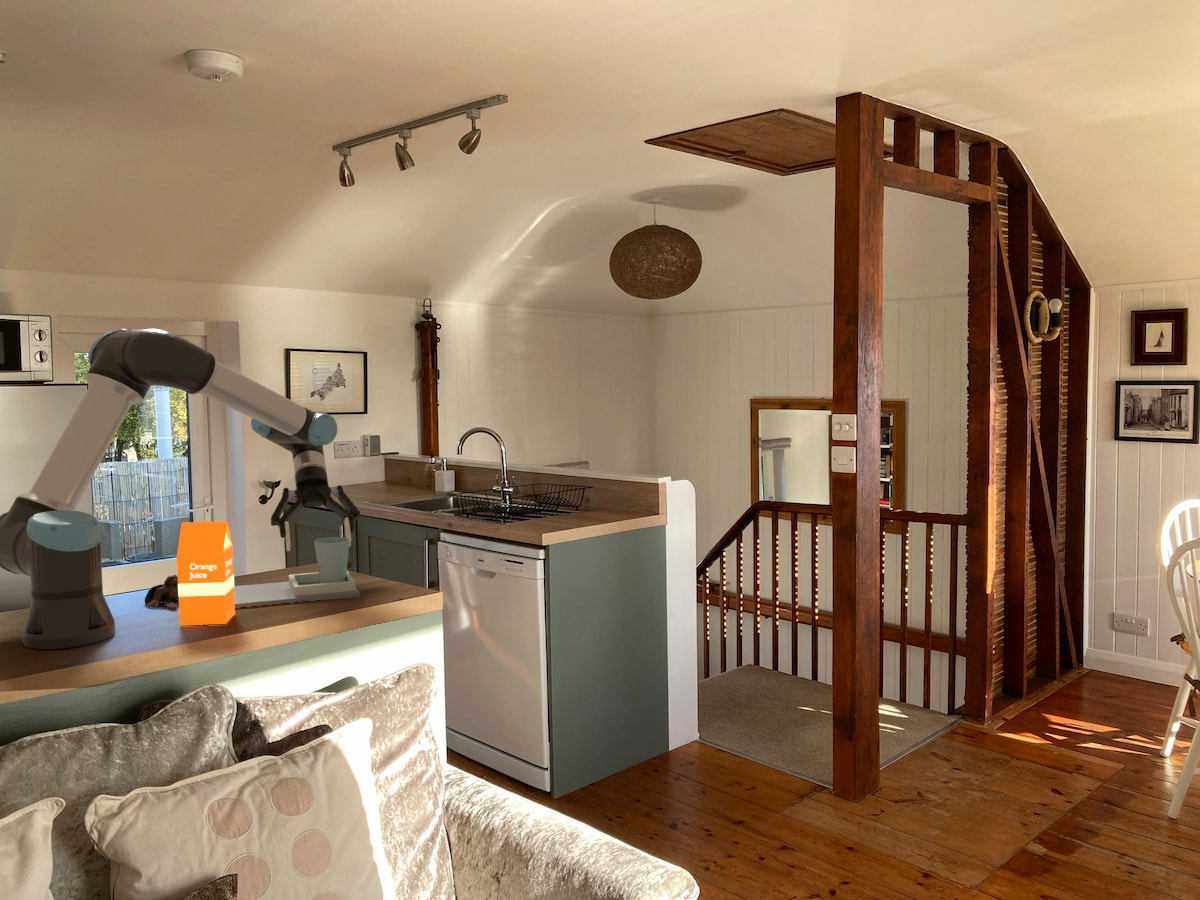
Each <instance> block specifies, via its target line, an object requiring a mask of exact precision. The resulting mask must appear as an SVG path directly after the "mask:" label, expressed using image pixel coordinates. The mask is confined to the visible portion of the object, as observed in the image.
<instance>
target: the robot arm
mask: <svg viewBox="0 0 1200 900" xmlns="http://www.w3.org/2000/svg"><path fill="white" fill-rule="evenodd" d="M87 357H88V358H87V359H88V362H89V369H88V371H87V373H86V375H85V380H86V382H87V384H88V388H87V390H86V391H85V393H84V395H83V397H82V399H81V400H80V402H79V404H78V406H77V407H76V409H75V411H74V413H73V414H72V417H71V419H69V421H68V423H67V425H66V427H65V429H64V431H63V433H61V434H62V435H61V436H60V437H59V440H58V441H57V443H56V445H55V446H54V448H53V450H52V452H51V453H50V456H49V458H47V461H46V463H45V465H44V466H43V468H42V470H41V471H40V473H39V475H38V477H37V479H36V480H35V482H34V484H33V486H32V487H31V490H29V491H28V492H26V493H22V494H19V495H17V496H16V498H15V499H14V502H13V503H12V505H11V506H10V508H9V509H8V510H9V511H7V512H4V513H2V514H0V568H1V569H2V570H3V571H4V570H5V571H6V572H10V573H11V574H16V575H23V576H27V577H30V591H31V604H30V606H29V610H28V613H27V617H26V620H25V621H24V622H25V623H24V626H23V629H22V645H23V646H24V647H26V648H30V649H35V650H57V649H59V650H60V649H70V648H71V649H72V648H77V647H81V646H87V645H92V644H95V643H99V642H101V641H102V642H103V641H104V640H107V639H109V638H111V637H113V636H114V635H115V634H116V621H115V619H114V616H113V614H112V612H111V611H112V610H111V609H110V607H109V605H108V602H107V600H106V598H105V596H104V589H103V587H104V586H103V569H102V568H103V565H102V545H101V543H102V542H101V541H102V533H101V532H102V531H101V529H100V523H99V520H98V519H97V517H95V515H93V514H90V513H88V512H86V511H85V512H84V511H79V510H76V508H77V506H78V504H79V502H80V501H81V499H82V497H83V495H84V493H85V491H86V489H87V487H88V486H89V484H90V482H91V481H92V478H93V476H94V475H95V473H96V472H97V470H98V467H99V466H100V464H101V462H102V460H103V458H104V456H105V455H106V452H107V451H108V449H109V447H110V445H111V443H112V442H113V440H114V438H115V436H116V435H117V433H118V430H119V429H120V427H121V426H122V424H123V421H124V419H125V418H126V415H127V414H128V413H129V410H130V408H131V406H135V405H137V404H141V403H143V401H144V399H145V397H146V395H147V394H148V393H149V390H150V388H151V387H153V386H154V387H155V386H157V387H159V386H160V387H167V388H172V389H177V390H179V391H183V392H185V393H186V394H189V395H197V394H201V395H202V396H205V397H207V398H209V399H211V400H214V401H215V402H218V403H220V404H222V405H223V406H226V407H228V408H230V409H232V410H234V411H237V412H239V413H241V414H243V415H245V416H247V417H249V418H251V421H250V426H251V429H252V430H253V431H254V432H255V433H256V434H258V435H259V436H261V437H262V438H264V439H266V440H268V441H270V442H272V443H274V444H276V445H277V446H280V447H281V448H282V449H285V450H287V451H288V452H291V454H292V461H293V469H294V470H293V471H294V480H295V489H294V490H292V489H291V490H289V487H284V488H283V491H282V492H283V494H282V496H281V499H279V502H278V503H277V506H276V508H275V510H274V511H273V513H272V515H271V517H270V525H271V526H272V527H274V526H277V527H278V529H279V536H280V538H282V539H283V538H285V546H286V552H290V551H291V535H290V524H289V522H290V521H291V520H292V519H293V518H294V517H295V516H296V514H297V513H298V512H299V511H302V509H303V508H304V507H307V508H312V507H322V506H324V507H325V508H327V509H329V510H331V511H332V512H333V513H335V515H337V516H338V517H340V518H341V519H342V520H343V521H344V524H343V525H344V531H345V538H348V539H349V547H351V546H352V534H353V533H354V531H355V523H354V522H355V521H356V522H357V521H358V522H359V520H360V519H361V518H360V516H361V512H360V510H359V509H358V508H357V506H356V505H355V504H354V503H353V501H352V500H351V499H350V497H349V496H348V495H347V494H346V493H345V492H344V491H345V490H344V488H343V486H342V485H341V484H339V485H337V486H336V487H334V488H331V487H330V486H329V480H328V479H329V478H328V473H327V465H326V458H325V454H324V446H327V445H329V444H332V442H333V441H334V440H335V439H336V436H337V434H338V425H337V424H338V423H337V421H336V419H335V418H334V417H333V416H332V415H330V414H329V413H324V412H316V411H313V410H311V409H309V408H307V407H305V406H303V405H302V404H299V403H297V402H295V401H293V400H292V399H290V398H287V397H286V396H283V395H282V394H280V393H278V392H276V391H274V390H272V389H271V388H268V387H266V386H265V385H262V384H261V383H258V382H257V381H255V380H253V379H251V378H249V377H247V376H245V375H243V374H241V373H239V371H236V370H233V369H232V368H230V367H228V366H226V365H224V364H222V363H220V362H218V361H217V358H216V356H215V355H214V354H213V353H212V352H210V351H208V350H207V349H204V348H203V347H201V346H199V345H197V344H195V343H193V342H192V341H189V340H187V339H185V338H183V337H180V336H179V335H177V334H175V333H172V332H170V331H167V330H163V329H160V328H159V329H158V328H146V329H144V328H143V329H131V328H121V329H116V330H112V331H109V332H106V333H105V334H102V335H100V336H99V337H97V339H96V340H95V341H94V342H93V343H92V345H91V347H90V349H89V352H88V356H87ZM331 495H333V496H334V497H335V498H337V499H338V501H339V502H340V503H338V502H337V501H336V500H334V498H333V497H332V496H331ZM293 497H295V499H296V500H295V502H294V503H293V504H292V505H291V506H290V507H289V508H288V509H287V511H285V509H286V507H287V505H288V502H289V501H290V500H292V498H293ZM284 511H285V512H284ZM282 514H283V515H282Z"/></svg>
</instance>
